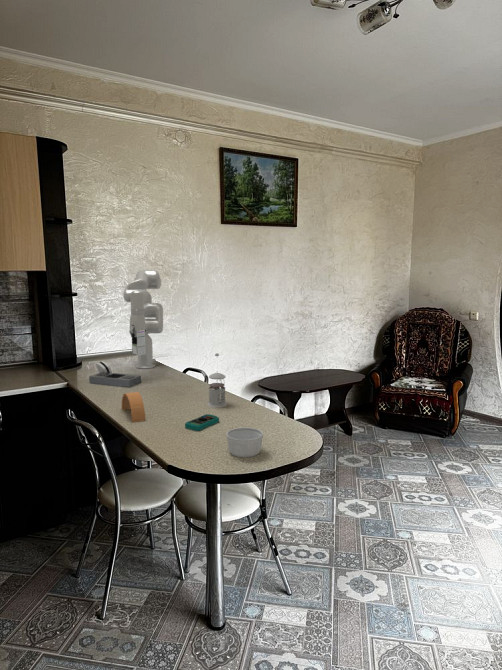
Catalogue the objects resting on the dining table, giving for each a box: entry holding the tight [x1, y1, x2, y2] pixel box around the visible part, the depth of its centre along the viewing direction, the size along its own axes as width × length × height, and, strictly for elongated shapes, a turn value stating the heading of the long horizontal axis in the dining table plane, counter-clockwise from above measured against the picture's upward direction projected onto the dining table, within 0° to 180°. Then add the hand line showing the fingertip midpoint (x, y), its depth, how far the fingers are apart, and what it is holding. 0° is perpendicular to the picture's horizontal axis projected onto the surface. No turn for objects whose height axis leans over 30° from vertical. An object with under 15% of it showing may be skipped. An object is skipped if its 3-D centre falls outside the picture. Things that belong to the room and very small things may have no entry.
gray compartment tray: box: [88, 372, 142, 388], centre depth 264 cm, size 12×26×4 cm, turn 71°
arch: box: [121, 391, 146, 423], centre depth 208 cm, size 6×20×10 cm, turn 27°
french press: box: [206, 353, 228, 408], centre depth 225 cm, size 10×12×25 cm
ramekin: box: [225, 426, 264, 458], centre depth 168 cm, size 13×13×7 cm
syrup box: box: [131, 330, 146, 356], centre depth 271 cm, size 6×6×14 cm
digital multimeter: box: [184, 413, 220, 432], centre depth 196 cm, size 7×15×3 cm, turn 147°
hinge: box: [95, 360, 113, 373], centre depth 280 cm, size 17×5×10 cm, turn 36°
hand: (138, 342), depth 271 cm, fingers closed on syrup box, 7 cm apart
